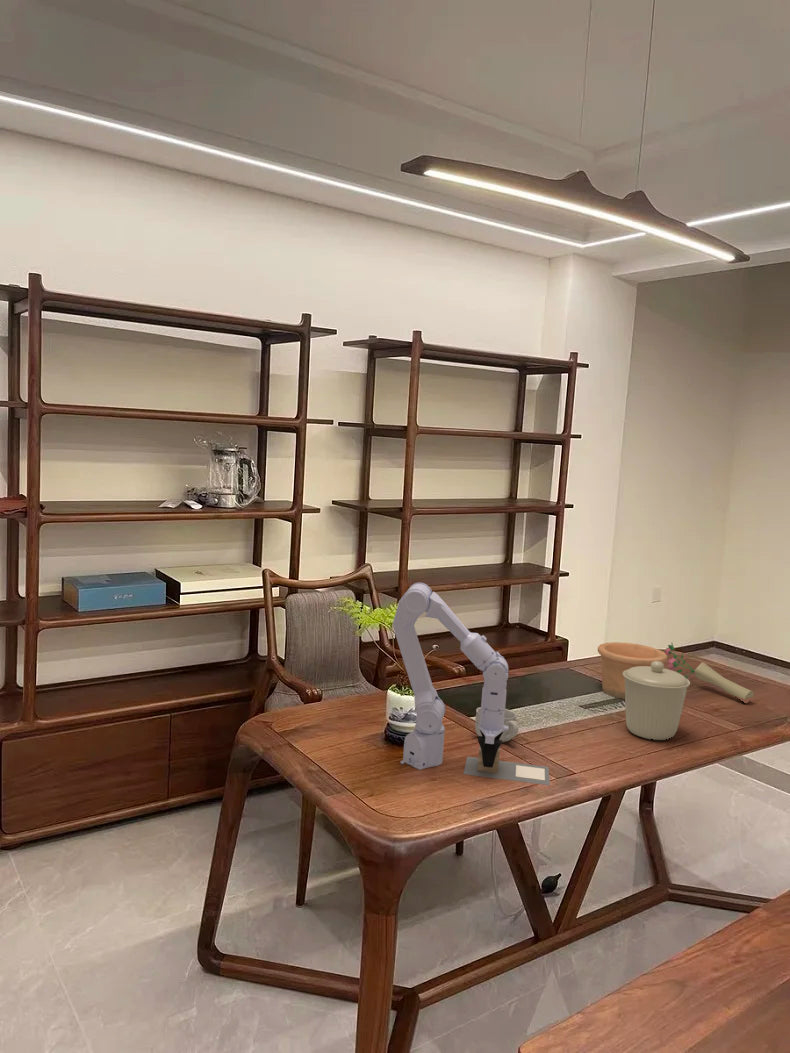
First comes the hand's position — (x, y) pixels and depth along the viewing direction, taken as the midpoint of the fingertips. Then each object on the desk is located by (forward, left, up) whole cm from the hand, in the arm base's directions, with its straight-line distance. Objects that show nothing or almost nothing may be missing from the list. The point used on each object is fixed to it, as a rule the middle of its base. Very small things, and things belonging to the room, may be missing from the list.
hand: (488, 762), depth 193 cm
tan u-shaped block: (0, 0, -1) cm, 1 cm away
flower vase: (+116, +5, -3) cm, 117 cm away
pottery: (+89, +17, -3) cm, 90 cm away
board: (+3, -3, -2) cm, 5 cm away
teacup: (+17, +11, -3) cm, 21 cm away
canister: (+60, -9, -3) cm, 60 cm away
